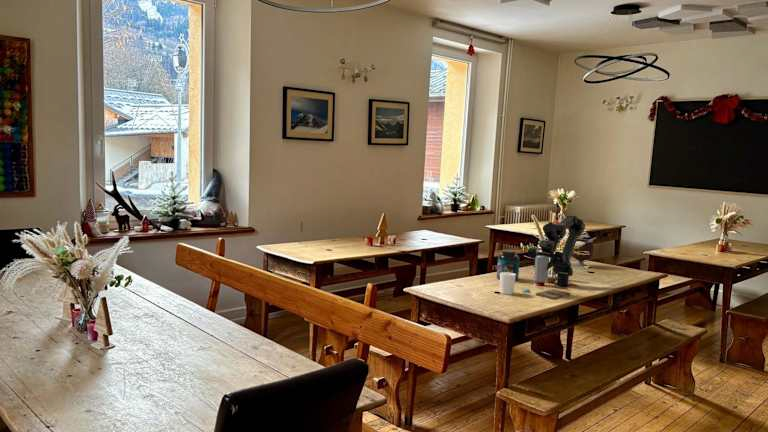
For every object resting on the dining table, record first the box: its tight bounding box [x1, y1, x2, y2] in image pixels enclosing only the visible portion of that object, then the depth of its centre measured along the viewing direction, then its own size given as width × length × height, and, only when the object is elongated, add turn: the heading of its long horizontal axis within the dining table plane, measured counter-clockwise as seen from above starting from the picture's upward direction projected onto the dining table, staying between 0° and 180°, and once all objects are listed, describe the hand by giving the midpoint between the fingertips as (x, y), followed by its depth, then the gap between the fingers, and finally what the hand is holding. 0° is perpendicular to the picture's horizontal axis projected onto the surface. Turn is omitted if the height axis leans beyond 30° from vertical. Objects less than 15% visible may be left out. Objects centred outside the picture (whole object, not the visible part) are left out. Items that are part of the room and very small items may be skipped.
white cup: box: [499, 272, 516, 296], centre depth 285 cm, size 8×8×10 cm
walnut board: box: [535, 288, 571, 300], centre depth 285 cm, size 16×10×1 cm, turn 132°
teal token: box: [522, 288, 530, 294], centre depth 289 cm, size 3×3×1 cm
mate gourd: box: [571, 237, 597, 268], centre depth 364 cm, size 16×14×20 cm
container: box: [496, 249, 520, 282], centre depth 318 cm, size 12×12×17 cm
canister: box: [533, 255, 550, 283], centre depth 285 cm, size 6×6×12 cm
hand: (540, 268), depth 284 cm, fingers closed on canister, 6 cm apart
